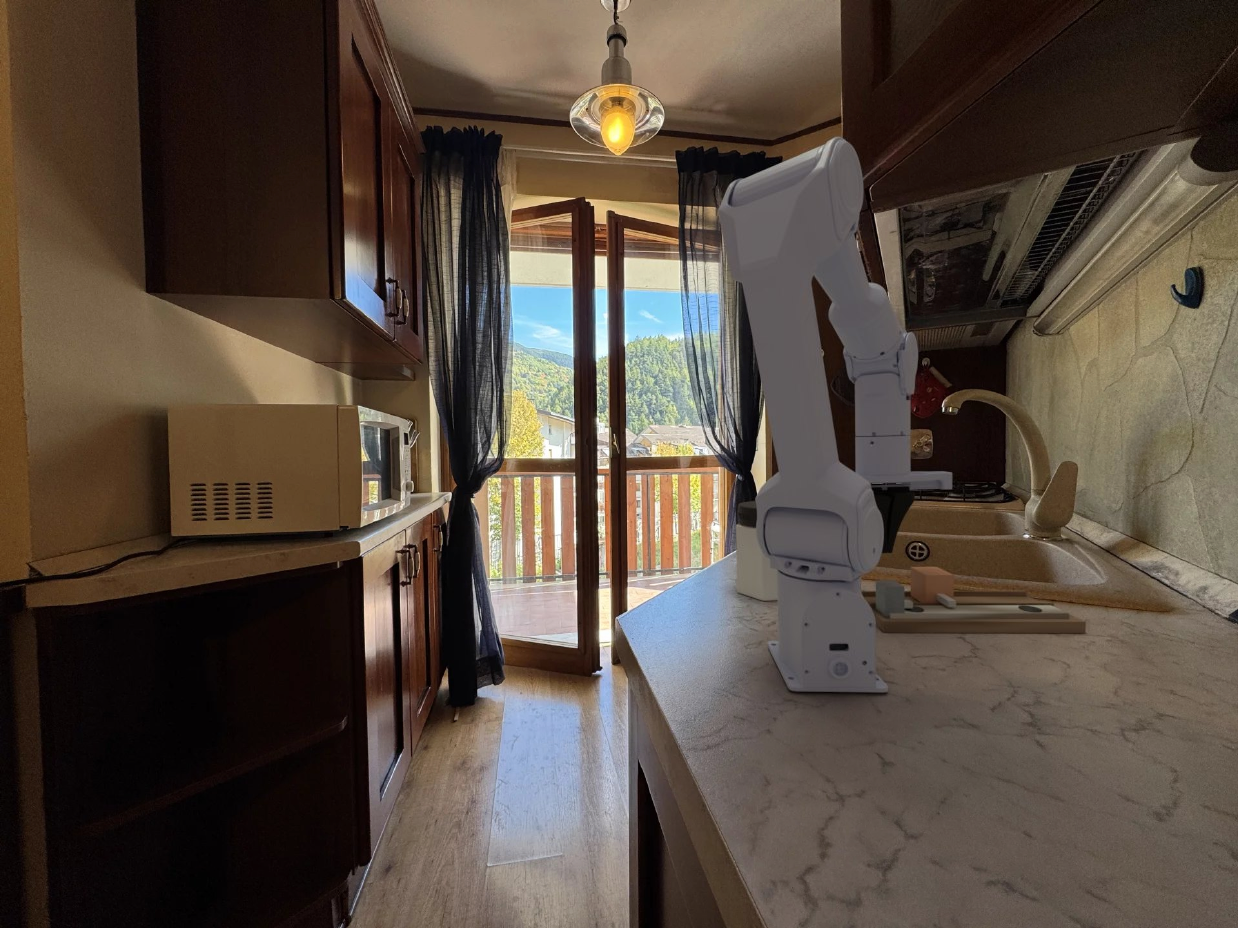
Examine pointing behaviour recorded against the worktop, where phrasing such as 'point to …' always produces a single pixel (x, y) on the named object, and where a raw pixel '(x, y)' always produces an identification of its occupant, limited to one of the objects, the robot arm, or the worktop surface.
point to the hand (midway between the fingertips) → (882, 551)
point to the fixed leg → (890, 598)
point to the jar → (753, 558)
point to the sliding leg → (932, 585)
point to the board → (978, 615)
